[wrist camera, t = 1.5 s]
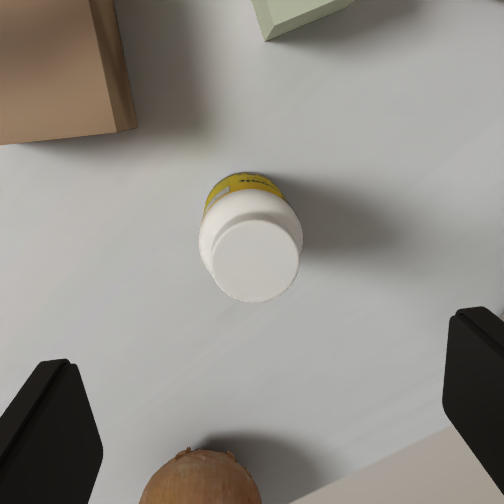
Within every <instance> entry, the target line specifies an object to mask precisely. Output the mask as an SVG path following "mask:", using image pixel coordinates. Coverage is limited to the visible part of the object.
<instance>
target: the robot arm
mask: <svg viewBox="0 0 504 504" xmlns="http://www.w3.org/2000/svg"><path fill="white" fill-rule="evenodd" d="M442 404H443V408H444V411H445V413H446V415H447V417H448V418H449V420H450V421H451V422H452V424H453V425H454V427H455V428H456V429H457V430H458V432H459V433H460V435H461V436H462V438H463V439H464V441H465V442H466V443H467V445H468V446H469V448H470V449H471V450H472V452H473V453H474V454H475V456H476V457H477V459H478V460H479V461H480V463H481V464H482V466H483V467H484V468H485V470H486V471H487V472H488V474H489V475H490V477H491V478H492V480H493V481H494V482H495V484H496V485H497V486H498V488H499V489H500V491H501V492H502V494H503V495H504V313H503V314H502V315H501V316H500V318H499V317H497V316H496V315H495V314H493V313H492V312H491V311H489V310H488V309H487V308H485V307H481V306H480V307H472V308H464V309H459V310H457V312H456V314H455V316H452V317H451V318H450V321H449V331H448V342H447V353H446V364H445V375H444V386H443V397H442ZM102 459H103V446H102V442H101V439H100V436H99V433H98V429H97V426H96V423H95V420H94V417H93V413H92V410H91V407H90V404H89V401H88V398H87V394H86V391H85V388H84V385H83V382H82V379H81V375H80V372H79V369H78V367H77V365H76V364H71V363H70V362H69V360H68V359H57V360H49V361H43V362H40V363H39V364H38V365H37V367H36V368H35V370H34V371H33V372H32V374H31V375H30V377H29V378H28V379H27V381H26V382H25V384H24V385H23V386H22V388H21V389H20V391H19V392H18V393H17V395H16V396H15V398H14V399H13V400H12V402H11V403H10V405H9V406H8V408H7V409H6V410H5V412H4V413H3V415H2V416H1V417H0V504H88V501H89V499H90V496H91V493H92V490H93V487H94V484H95V481H96V478H97V475H98V472H99V469H100V466H101V463H102Z"/></svg>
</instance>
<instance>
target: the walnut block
mask: <svg viewBox="0 0 504 504" xmlns="http://www.w3.org/2000/svg"><path fill="white" fill-rule="evenodd" d="M137 127H138V125H137V120H136V114H135V109H134V104H133V99H132V94H131V89H130V84H129V79H128V74H127V69H126V63H125V58H124V53H123V48H122V43H121V38H120V33H119V28H118V23H117V18H116V13H115V7H114V2H113V0H0V145H7V144H16V143H25V142H34V141H43V140H52V139H61V138H70V137H79V136H88V135H97V134H106V133H116V132H120V131H124V130H128V129H132V128H137Z"/></svg>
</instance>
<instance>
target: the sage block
mask: <svg viewBox="0 0 504 504" xmlns="http://www.w3.org/2000/svg"><path fill="white" fill-rule="evenodd" d="M251 1H252V4H253V7H254V10H255V13H256V16H257V20H258V23H259V26H260V29H261V32H262V35H263V38H264V41H267V40H270V39H272V38H275V37H277V36H279V35H282V34H284V33H287V32H289V31H291V30H294V29H296V28H299V27H301V26H303V25H306V24H308V23H310V22H313V21H315V20H318V19H320V18H322V17H325V16H327V15H330V14H332V13H334V12H337V11H339V10H341V9H344V8H346V7H347V6H348V5H350V4H351V3H352V2H353V1H355V0H251Z"/></svg>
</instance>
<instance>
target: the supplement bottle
mask: <svg viewBox="0 0 504 504" xmlns="http://www.w3.org/2000/svg"><path fill="white" fill-rule="evenodd" d="M302 247H303V233H302V228H301V225H300V222H299V220H298V217H297V215H296V214H295V212H294V210H293V209H292V207H291V206H290V205H289V203H288V202H287V200H286V199H285V197H284V196H283V194H282V192H281V191H280V190H279V188H278V187H277V186H276V185H275V184H274V183H273V182H272V181H271V180H269V179H268V178H266V177H265V176H263V175H260V174H257V173H253V172H238V173H234V174H231V175H229V176H227V177H225V178H223V179H222V180H221V181H219V182H218V183H217V184H216V185H215V186H214V187H213V189H212V190H211V192H210V194H209V196H208V198H207V200H206V203H205V208H204V213H203V217H202V222H201V227H200V232H199V250H200V254H201V257H202V260H203V263H204V264H205V266H206V268H207V269H208V271H209V272H210V273H211V274H212V275H213V277H214V279H215V281H216V283H217V284H218V286H219V287H220V288H221V289H222V290H223V291H224V292H225V293H226V294H227V295H229V296H231V297H232V298H234V299H236V300H239V301H243V302H248V303H260V302H266V301H269V300H272V299H274V298H276V297H278V296H279V295H281V294H282V293H284V292H285V291H286V290H287V289H288V288H289V287H290V286H291V284H292V283H293V281H294V280H295V278H296V275H297V273H298V269H299V263H300V255H301V252H302Z"/></svg>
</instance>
